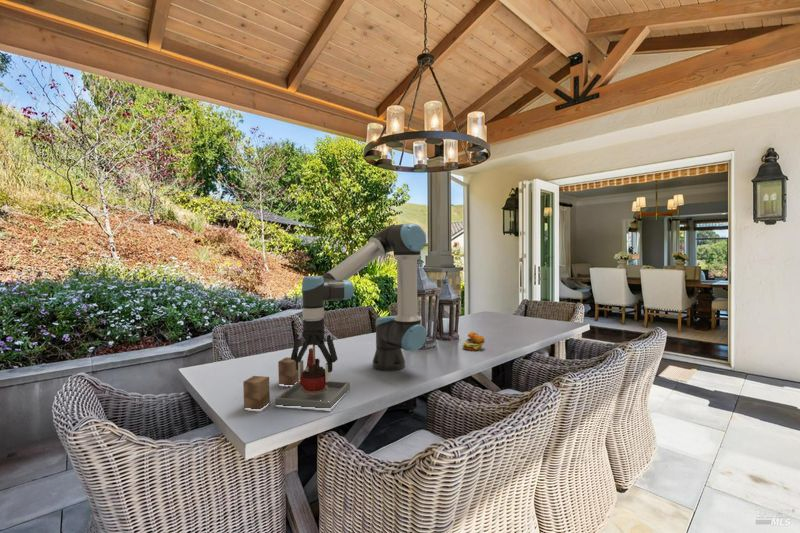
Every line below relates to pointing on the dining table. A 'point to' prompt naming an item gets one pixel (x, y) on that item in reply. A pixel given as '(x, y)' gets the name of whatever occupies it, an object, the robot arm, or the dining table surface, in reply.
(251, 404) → the left walnut block
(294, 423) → the dining table surface
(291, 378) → the right walnut block
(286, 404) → the tray
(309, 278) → the robot arm
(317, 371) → the cake
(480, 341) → the cheeseburger
